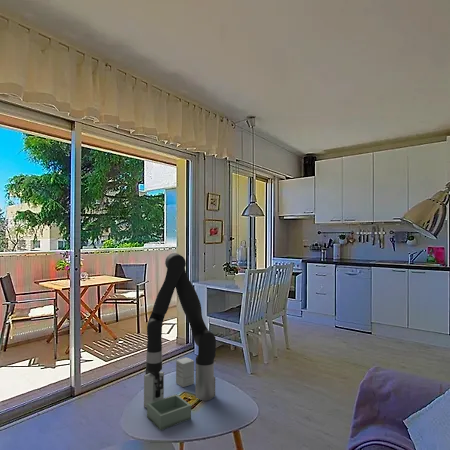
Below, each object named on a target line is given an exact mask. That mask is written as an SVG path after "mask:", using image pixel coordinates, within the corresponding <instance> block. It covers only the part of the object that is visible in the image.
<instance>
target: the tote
mask: <svg viewBox="0 0 450 450" xmlns="http://www.w3.org/2000/svg"><path fill="white" fill-rule="evenodd" d="M146 418H147V419H148V420H149V421H150V422H151V423H152V424H153V425H154V426H155V427H156V428H157V429H158V430H159V431H160V432H161V431H164V430H165V429H168V428H171V427H174V426H176V425H179V424H182V423H184V422H187V421H189V420H191V419H192V405H191V404H190V403H189V402H188V401H186V400H185V399H183V397H181V396H179V395H178V394H173V395H170V396H167V397H164V398H163V399H160V400H157V401H154V402H151V403H148V404H147V407H146Z"/></svg>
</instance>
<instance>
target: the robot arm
mask: <svg viewBox="0 0 450 450" xmlns="http://www.w3.org/2000/svg"><path fill="white" fill-rule="evenodd" d="M164 265H165V267H166V274H165V278H164V281H163V284H162V285H161V287H160V289H159V291H158V293H157V295H156V298H155V300H154V301H155V302H154V304H153V306H152V311H151V314H150V315H149V318H148V321H147V324H146V335H147V337H146V338H147V339H146V341H147V342H146V354H145V355H146V360H145V362H146V363H145V373H144V374H145V375H146V374H148V373H151V374H152V375H154V376H155V380H156V379H157V383H154V385H155V388H156V398H158V397H160V390H161V389H163V376H160V374H159V372H160V371H161V372H162V370H163V351H162V350H163V342H162V336H163V335H162V333H163V322H164V320H165V316H166V315H167V312H168V310H169V306H170V304H171V301H172V298H173V295H174V291H175V290H176V294H177V296H178V299H179V303H180V305H181V308H182V310H183V313H184V315H185V318H186V319H187V321H188V323H189V326H190V331H191V333H192V337H193V341H194V343H195V344H196V346H197V348H198V350H197V351H198V352H197V355H196V356H195V383H194V384H195V385H194V386H195V390H194V392H195V396H196V397H195V399H196V398H198V399H200V400H199V401H201V400H202V401H203V402H205V401H207V402H208V401H210V400H212V399H213V398H214V397H216V376H215V358H216V350H217V348H216V347H217V339H216V336H215V334H214V333H213V332H211V331H210V330H209V329H208V327H207V326H206V323H205V321H204V319H203V314H202V313H203V312H202V304H201V301H200V298H199V296H198V293H197V292H196V289H195V287H194V286H193V283H192V282H191V280H190V279H189V276H188V274H187V271H186V265H187V262H186V259H185V258H184V256H183V255H182V254H179V253H177V252H174V253H170V254H168V255H167V256H166V258H165V263H164ZM198 399H197V400H198Z"/></svg>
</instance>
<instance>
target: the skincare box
mask: <svg viewBox="0 0 450 450" xmlns="http://www.w3.org/2000/svg"><path fill="white" fill-rule="evenodd" d="M145 374H146V373H145ZM159 374H160V376H163V389H161V390H160V397H158V398H156V388H155V385H154V383H157V379H156V380H155V376H154V375H152V374H151V373H148V374H146V375H144V376H143V384H144V385H143V407H144V408H147V404H148V403H151V402H154V401H157V400H160V399H163V398H165V396H164V391H165V386H164V385H165V382H164V381H165V377H164V376H165V375H164V374H165V372H163V371H162V370H161V371H160V372H159Z"/></svg>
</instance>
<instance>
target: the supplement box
mask: <svg viewBox="0 0 450 450" xmlns="http://www.w3.org/2000/svg"><path fill="white" fill-rule="evenodd" d="M175 367H176V368H175V383H176V384H177V385H179V386H180V387H182V388H185V387H187V386H188V387H189V386H191V385H193V384H195V361H194V360H193V359H191V358H189V357H182V358H179V359H176V361H175Z"/></svg>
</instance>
